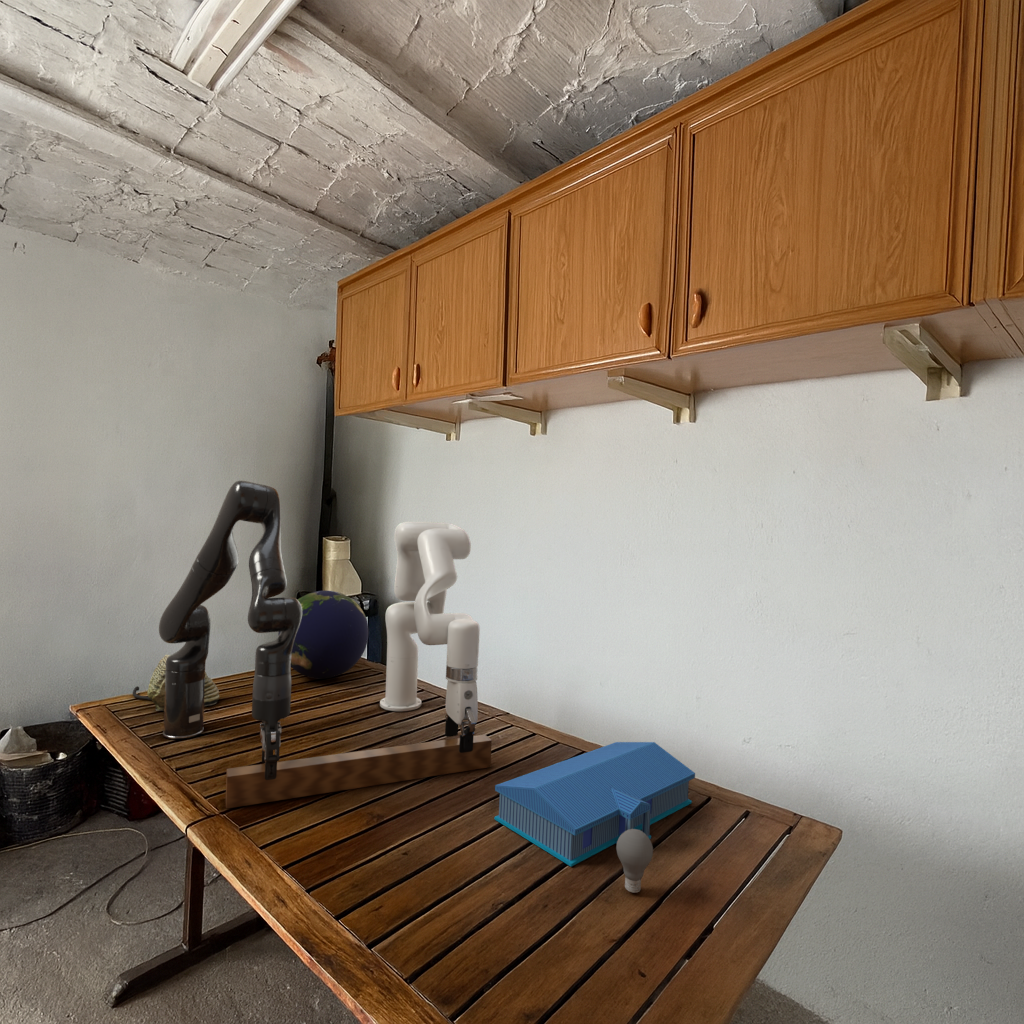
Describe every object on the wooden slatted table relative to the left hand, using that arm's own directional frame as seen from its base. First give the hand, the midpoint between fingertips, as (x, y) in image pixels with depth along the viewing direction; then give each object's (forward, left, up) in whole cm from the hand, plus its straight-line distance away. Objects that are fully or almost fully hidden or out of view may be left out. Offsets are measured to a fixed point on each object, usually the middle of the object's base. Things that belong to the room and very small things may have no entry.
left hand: (268, 770), depth 132 cm
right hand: (+13, +40, 0) cm, 42 cm away
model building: (+49, +50, -6) cm, 70 cm away
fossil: (-69, +4, -6) cm, 70 cm away
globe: (-73, +49, -6) cm, 89 cm away
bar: (+6, +20, -6) cm, 22 cm away
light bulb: (+68, +33, -6) cm, 76 cm away
